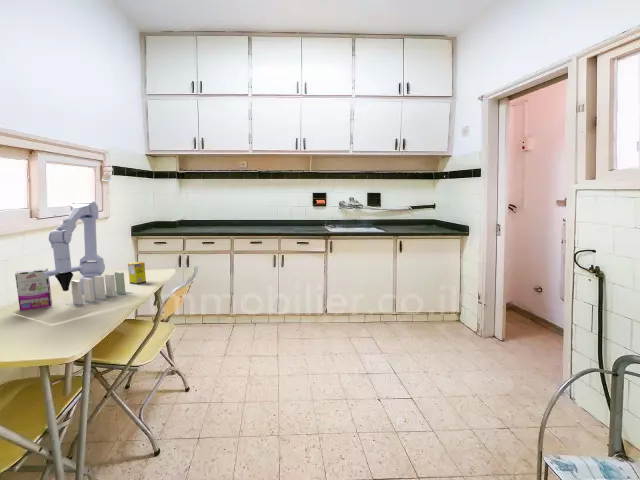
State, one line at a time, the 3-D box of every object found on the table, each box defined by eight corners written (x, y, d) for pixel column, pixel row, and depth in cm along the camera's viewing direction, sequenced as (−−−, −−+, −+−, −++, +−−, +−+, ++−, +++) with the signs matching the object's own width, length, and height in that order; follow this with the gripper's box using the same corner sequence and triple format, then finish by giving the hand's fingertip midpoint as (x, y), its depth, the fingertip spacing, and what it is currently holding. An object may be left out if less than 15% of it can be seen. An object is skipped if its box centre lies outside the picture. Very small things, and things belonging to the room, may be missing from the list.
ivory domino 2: (91, 301, 183) (89, 279, 181) (84, 300, 185) (82, 278, 184) (94, 301, 184) (92, 278, 183) (88, 299, 187) (86, 277, 185)
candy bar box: (52, 305, 181) (48, 268, 179) (51, 308, 177) (47, 269, 175) (21, 309, 176) (16, 271, 174) (19, 312, 172) (14, 273, 170)
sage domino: (122, 294, 195) (120, 273, 194) (116, 292, 198) (114, 272, 197) (125, 293, 197) (123, 272, 195) (119, 292, 199) (117, 271, 198)
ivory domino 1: (79, 304, 178) (77, 281, 177) (73, 303, 181) (71, 280, 180) (83, 303, 180) (81, 281, 178) (77, 302, 182) (74, 280, 181)
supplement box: (146, 282, 223) (144, 262, 221) (136, 284, 218) (134, 264, 216) (139, 281, 226) (137, 261, 224) (129, 283, 221) (127, 263, 219)
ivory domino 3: (102, 299, 187) (100, 277, 186) (95, 297, 189) (93, 276, 188) (105, 298, 188) (103, 276, 187) (99, 297, 191) (97, 275, 190)
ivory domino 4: (112, 296, 191) (110, 275, 190) (106, 295, 194) (104, 274, 192) (116, 295, 192) (114, 274, 191) (109, 294, 195) (107, 273, 194)
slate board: (77, 308, 175) (77, 306, 175) (65, 305, 181) (65, 303, 180) (133, 294, 197) (133, 292, 197) (121, 291, 202) (120, 290, 202)
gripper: (48, 262, 166) (52, 295, 167) (85, 256, 178) (88, 287, 180) (39, 261, 170) (43, 293, 171) (76, 255, 182) (79, 286, 183)
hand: (65, 290), depth 176 cm, fingers closed
